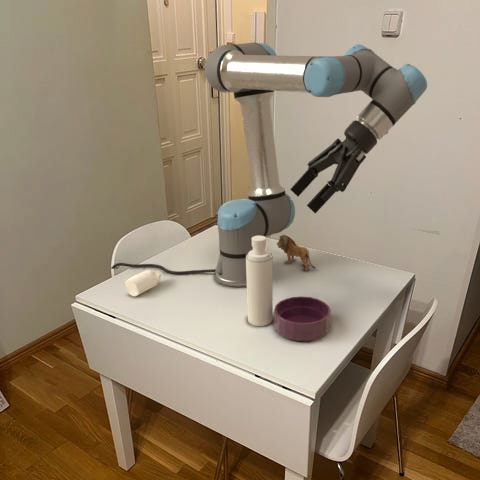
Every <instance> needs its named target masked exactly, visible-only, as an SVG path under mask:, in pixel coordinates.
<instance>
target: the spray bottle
mask: <svg viewBox="0 0 480 480" xmlns="http://www.w3.org/2000/svg"><path fill="white" fill-rule="evenodd" d="M266 246H267V237H264V236H254V237H252V247H253V250H251V251H250V252H249V253H247V254H246V278H247V286H246V305H247V306H246V307H247V321H248V323H249V324H250V325H252V326H256V327H265V326H267V325H268V326H269V324H271V323H272V322H273V321H274V309H273V308H274V307H273V305H274V304H273V301H274V300H273V295H274V294H273V283H274V280H273V277H274V276H273V254H272V252H270V251H269V250H267V249H266Z"/></svg>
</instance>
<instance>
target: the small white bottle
mask: <svg viewBox="0 0 480 480" xmlns="http://www.w3.org/2000/svg"><path fill="white" fill-rule="evenodd" d="M161 277H162V272H161V270H150V269H146V270H143V271H141V272H139V273H137V274H135V275H133V276H132V277H130V278H128V279H127V280H125V281H124V288H125V289H126V291H127V292H128V294H129V295H130V296H132V297H137V296H140V295H141V294H142V293H145V292H146V291H148V290H150V289H152V288H154V287H156V286H157V285H158V284H159V283H160V281H161Z"/></svg>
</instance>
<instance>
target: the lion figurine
mask: <svg viewBox="0 0 480 480" xmlns="http://www.w3.org/2000/svg"><path fill="white" fill-rule="evenodd" d="M278 238H279V239H278V242H276V246H277V248H278V249H281V250H282V251H283V253H284V254H286V256H287V260H286V261H285V263H286V264H287V265H288V264H291V262H293V261H294V260H295V257H298V258H300V261H301V263H302V265H304V271H309V265H310V267H311V268H312V269H314V270H315V269H316V266H314V265H313V264H312V262H311V258H310V252H309V249H308V248H307V247H306V246H300V245H298V244H297V243H296V242H295V240H294V239H292V238H291V237H290V236H288V235H286V234H282V235H280V236H279V237H278Z"/></svg>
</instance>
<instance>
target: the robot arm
mask: <svg viewBox="0 0 480 480" xmlns="http://www.w3.org/2000/svg"><path fill="white" fill-rule="evenodd" d="M204 74H205V78H206V80H207V82H208V84H209V85H210V86H211V88H212V89H214V90H216V91H217V92H220V93H233V98H234V101H235V102H237V103H238V104H239V105H240V112H241V118H242V125H243V131H244V139H245V145H246V146H245V148H246V154H247V155H246V156H247V160H248V170H249V177H250V185H251V189H250V190H249V192H248V193H247V195H248V196H247V197H248V198H239V199H232V200H229V201H227V202H225V203H223V204H222V205H221V206H220V207H219V208H218V210H217V221H216V224H217V228H218V229H217V231H218V232H217V233H218V244H219V245H218V246H219V247H218V248H219V257H218V260H217V264H216V267H215V268H214V269H213V268H210V269H194V270H181V271H175V270H170V269H168V268H166V267H164V266H163V265H160V264H155V263H138V264H133V263H126V262H117V263H115V264H114V265H112V266H111V268H110V269H111V270H114V269H115V268H117V267H120V266H121V267H128V268H158V269H160V270H162V271H164V272H165V273H167V274H171V275H190V274H191V275H192V274H203V273H204V274H205V273H207V274H208V273H214V276H215V280H216V281H217V282H218V283H219V284H221V285H223V286H226V287H227V286H228V287H233V288H234V287H235V288H241V287H247V278H246V254H247V253H249V252H250V251H251V250H253V247H252V237H254V236H264V237H266V238H267V237H271V236H272V235H276V234H279V233H281V232H283V231H284V230H286V229H288V228H289V227H290V226H291V225H292V224H293V222H294V220H295V216H296V207H295V206H296V205H295V202H294V200H292V197H291V196H290V195H289V194H288V193H287V192H286V188H285V187H283V185H281V184H280V175H279V169H278V168H279V167H278V160H277V159H278V158H277V151H276V142H275V141H276V140H275V135H274V124H273V116H272V108H271V99H272V97H273V96H274V95H275V92H288V93H301V94H310V95H312V96H313V97H316V98H330V97H332V96H333V97H334V96H337V95H342V94H348V93H354V92H363V93H364V94H365V95H366V96H367V97H369V98H370V99H371V100H370V102H368V104H366V105H365V107H364V108H363V109H362V110H361V111H360V113H358V115H357V116H356V120H353V121H351V123H350V124H349V125H348V126H347V127H346V128H345V130H343V135H344V137H345V139H344V140H341V139H340V138H336V139H335V140H334V141H333V142H332V143H331V144H330V145H329V146H328V147H326V148H324V150H323V151H321V152H320V153H319V154H317V156H315V157H314V158H312V159H311V160H309V162H308V163H307V166H308V167H307V169H306V170H305V172H304V173H303V174H302V175H301V176H300V177H299V178H298V180H297V181H296V182H295V183H294V184H293V185H292V186H291V187H290V189H289V190H290V191H291V192H292V193H293V194H294V195H295V196H297V197H300V195H302V193H304V191H306V189H307V188H308V187H309V186H310V185H311V184H312V182H313V181H314V180H315V179H316V178H318V176H319V174H320V173H321V172H323V171H325V170H326V169H328V168H330V167H332V166H333V165H336V168H335V170H334V173H333V175H332V177H331V179H330V180H328V181H327V182H326V184H325V185H324V186H323V187H322V188H321V189H320V190H319V191H318V192H317V193H316V194H315V196H314V197H312V199H310V201H309V202H308V203H307V204H306V206H307V208H309V210H311V211H312V212H313V213H314V214H317V213H318V212H319V210H321V209H322V207H323V206H324V205H325V204H326V203H327V202H328V201H329V200H330V199H331V197H333V196H334V195H335V193H338V192H341V193H343V192H345V191H346V189H347V188H348V186H349V184H350V182H351V181H352V179H353V178H354V176H355V175H356V172H357V171H358V169H359V167H360V165H362V163H363V162H364V161H365V159H366V158H367V156H366V155H368V154H369V153H370V152H371V151H372V150H373V149H374V147H376V146H377V144H378V141H380V140H381V139H383V137H384V136H385V135H388V134H389V131H390V130H391V129H392V128H393V127H394V126H395V125H396V124H397V122H398V121H399V120H400V119H401V118H403V116H404V115H405V114H406V113H407V112H408V111H409V110H410V109H411V108H412V107H413V106H414V105H416V103H417V101H418V100H419V99H420V98H421V96H422V95H423V94H424V93H425V92H426V90H427V88H428V81H427V79H426V77H425V75H424V73H422V71H421V70H419V69H418V67H416V66H414V65H412V64H410V63H405V64H403V65H402V66H401V67H400V68H398V69H397V68H396V67H394V66H392V65H391V64H390V63H388V62H387V61H386V60H384V59H383V58H382V57H380V56H379V55H378V54H377V53H375V51H373V50H372V49H371V48H368V47H366V46H365V45H363V44H360V43H359V44H354V45H353V46H352V47H350V48H349V49H348V50H347V51H346V52H345V53H344V54H343V55H335V56H333V55H332V56H327V55H318V56H316V55H315V56H314V55H277V53H276V51H275V50H274V48H272V47H271V46H270V45H268V44H266V43H263V42H255V41H254V42H245V43H234V44H222V45H220V46H219V45H218V47H215V48H214V49H213V50H211V51H210V53H209V54H208V55H207V58H206V60H205V64H204Z"/></svg>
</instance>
